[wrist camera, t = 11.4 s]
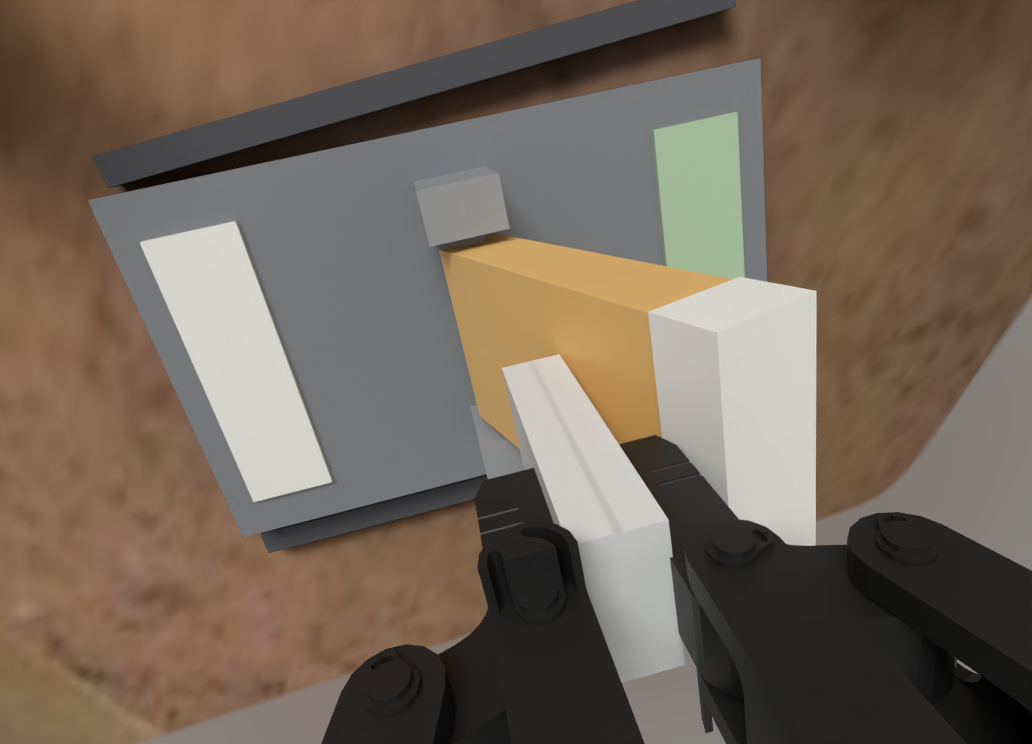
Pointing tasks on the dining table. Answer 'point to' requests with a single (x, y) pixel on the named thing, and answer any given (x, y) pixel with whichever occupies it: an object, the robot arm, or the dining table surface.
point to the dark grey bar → (397, 87)
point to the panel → (412, 276)
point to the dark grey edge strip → (372, 514)
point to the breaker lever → (656, 361)
